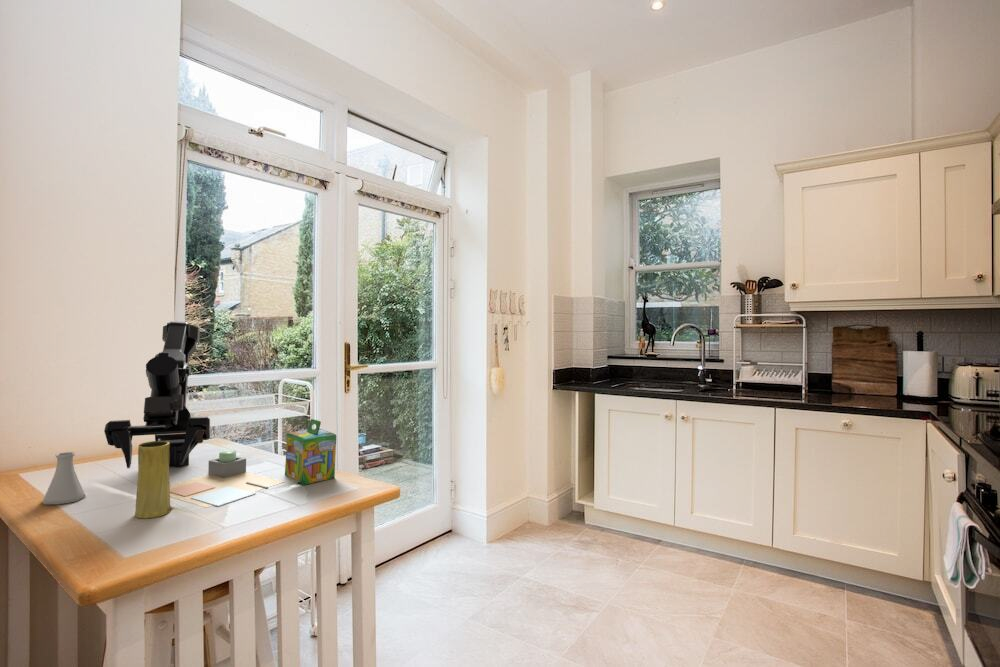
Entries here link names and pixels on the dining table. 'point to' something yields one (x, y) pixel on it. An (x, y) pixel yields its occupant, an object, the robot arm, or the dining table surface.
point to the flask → (64, 482)
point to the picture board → (220, 488)
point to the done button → (227, 456)
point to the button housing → (227, 467)
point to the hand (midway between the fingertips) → (155, 465)
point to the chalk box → (310, 454)
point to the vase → (153, 480)
